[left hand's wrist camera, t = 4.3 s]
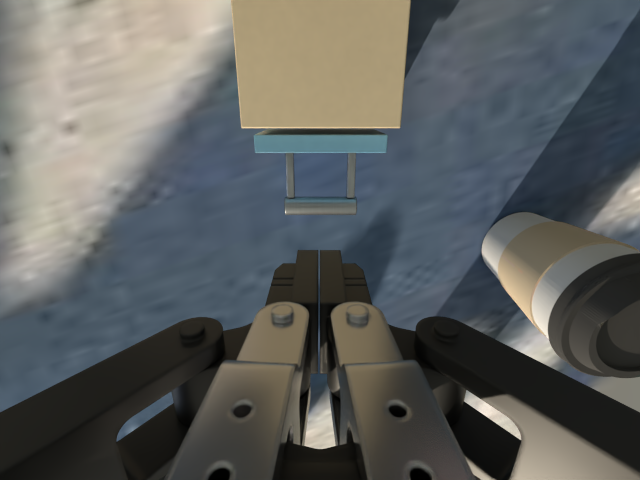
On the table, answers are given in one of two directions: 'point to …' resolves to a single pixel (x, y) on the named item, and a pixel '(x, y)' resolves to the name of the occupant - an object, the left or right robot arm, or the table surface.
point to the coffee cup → (572, 290)
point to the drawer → (320, 143)
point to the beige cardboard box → (320, 62)
